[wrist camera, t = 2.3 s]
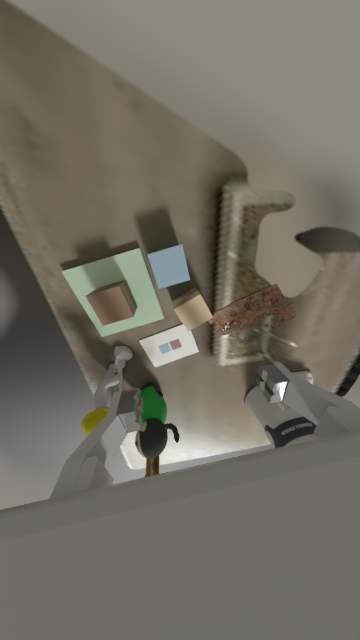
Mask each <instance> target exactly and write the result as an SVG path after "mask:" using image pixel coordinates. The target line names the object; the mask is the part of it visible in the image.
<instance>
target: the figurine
mask: <svg viewBox="0 0 360 640" xmlns="http://www.w3.org/2000/svg"><path fill="white" fill-rule="evenodd" d="M114 355H115V358H116V359H115V363H113V364H110V366H109V370H108V372H107V373H106V375H105V376H104V377H103V379H102V381H101V382H100V384H99V386H98V388H97V390H96V392H95V394H94V403H95V407H96V410H94V411H93V412H91V413H89V414H88V415H87V416H86V417H85V418H84V419H83V421H82V429H83V431H84V432H85V433H86V434H87V435H89V434H90V433H91V432H92V431H93V429H94V428H95V427H96V426H97V425H98V424H99V423H100V421H101V420H102V419H103V418H105V417H106V416H107V413H108V409H109V406H110V403H111V400H112V395H113V393H114V390H115V387H116V385H117V384H118V391H123V389H122V369H123V368H124V367H125V361H128V360H130V359H131V358H132V356H133V354H132V351H131V349H129V348H128V347H126V346H116V347H115V349H114ZM115 369H117V370H118V374H114V373H115Z"/></svg>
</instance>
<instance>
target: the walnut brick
mask: <svg viewBox="0 0 360 640" xmlns="http://www.w3.org/2000/svg"><path fill="white" fill-rule="evenodd" d="M86 298H87V300H88V301H89V303H90V305H91V307H92V308H93V310H94V312H95V313H96V315H97V317H98V318H99V320H100V322H101V324H102V325H103V326H104V325H108V324H111V323H114V322H118V321H121V320H125V319H128V318H131V317H134V315H135V312H136V309H137V304H136V302H135V299H134V297H133V295H132V292H131V290H130V288H129V285H128V283H127V281H126V280H123V281H119V282H116V283H113V284H109V285H106V286H103V287H99V288H97V289H95V290H94V291H92V292H91V293H89V294H88V295H86Z"/></svg>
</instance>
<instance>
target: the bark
mask: <svg viewBox="0 0 360 640" xmlns="http://www.w3.org/2000/svg"><path fill="white" fill-rule="evenodd" d="M282 295H283V294H282V293H281V291H280V289H279V288H278V286H277V285H276V284H275V285H272V286H271V287H268V288H265V289H263V290H262V291H260V292H257V293H255V294H252V295H250V296H248V297H246V298H243V299H241V300H239V301H236V302H235V303H232V304H231V305H230V306H229V307H226V308H224V309H223V310H220V311H217V312H216V313H215V314H214V316H212V317H213V318H212V319H210V320H209V321H208V322H209V323H210V324H212V323H213V322H215V324H216V325H218V324H219V323H222V324H220V326H221V327H219V329H220V330H215V331H213V332H214V334H216V332H218V331H221V332H220V333H219V334H218V335H220V334H221V335H227V334H228V333H230V332H232V331H235V330H238V329H240V330H241V329H242V328H243V327H245V326H247V325H249V324H250V325H252V324H253V322H255V321H258V320H260V318H259V316H258V315H260V314H263V313H264V314H263V315H262V317H263V316H264V315H265V312H267V311H268V312H269V313H271V314H273V315H274V314H276V313H278V314H281V316H278V318H277V319H278V320H277V323H275V324H271V325H268V324H266V325H264V326H265V327H268V326H271V327H272V328H273V327H276V326H278V325H279V324H281V323H283V322H284V321H287V320H290V319H292V318H293V317H295V313H294V312H295V311H294V306H293V305H294V303H291V304H290V305H289V306H286V307H284V308H281V309H280V308H279V307H278V308H277V305H278V304H279V303H280V301H281V300H282ZM261 300H262V301H261ZM257 301H258V302H260V303H259V304H260V309H261V307H266V305H267V306H268V308H267V309H265V308H263V309H262V311H259V312H258V311H257V309H256V308H257V306H256V305H257V303H256V302H257ZM275 301H276V302H275ZM276 309H277V311H278V312H276ZM263 310H264V311H263ZM279 310H280V311H279ZM256 311H257V312H256ZM272 311H273V312H272ZM285 313H286V314H285ZM257 314H258V315H257ZM271 314H268V313H267V314H266V316H267V315H268V316H270V315H271ZM284 314H285V316H284ZM237 316H238V317H237ZM236 317H237V318H236ZM262 317H261V318H262ZM219 318H220V320H219ZM215 320H217V321H215ZM218 320H219V323H218ZM271 320H273V319H271ZM280 320H283V321H281V322H279V321H280ZM228 322H229V323H230V324H229V326H230V328H226V330H224V331H223V330H221V329H225V328H224V327H225V325H227V324H226V323H228ZM260 325H261V324H260ZM244 338H246V337H244ZM246 340H248V339H247V338H246V339H245V340H244V341H246ZM244 341H241V342H240V343H242V342H244Z"/></svg>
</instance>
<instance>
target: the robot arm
mask: <svg viewBox="0 0 360 640" xmlns="http://www.w3.org/2000/svg"><path fill="white" fill-rule="evenodd" d="M256 371H257V373H256V374H255V382H256V384H257V386H256V387H254V388H253V389H252V390H251V391H250V392H249V393H248V394H247V396H246V398H245V405H246V406H247V407H248V408H249V409H250V411H251V412H252V413H253V414H254V415H255V417H256V418H257V419H258V421H259V422H260V423H261V425H262V426H263V428H264V429H265V433H266V435H267V437H268V439H269V441H270V442H271V444H272V446H273V447H274V449H270V450H265V451H261V452H256V453H252V454H247V455H243V456H238V457H234V458H230V459H225V460H221V461H216V462H212V463H207V464H203V465H198V466H194V467H189V468H185V469H180V470H176V471H172V472H167V473H163V474H158V475H154V476H149V477H145V478H140V479H136V480H131V481H127V482H122V483H118V484H114V485H112V484H113V477H112V475H111V474H110V473H109V472H108V471H107V468H108V466H109V464H110V462H111V461H112V459H113V457H114V456H115V454H116V452H117V450H118V449H119V447H120V445H121V444H122V442H123V440H124V439H125V437H126V435H127V433H129V432H133V431H137V430H141V425H142V417H141V413H142V412H143V399H142V396H141V395H140V390H139V388H135V389H129V390H123V391H117V392H114V394H113V397H112V400H111V403H110V406H109V409H108V413H107V416H106V417H105V418H103V419H102V420H101V421H100V423H99V424H98V425H97V426H96V427H95V428H94V429H93V431H92V432H91V433H90V434H89V435H88V436H87V438H86V439H85V440H84V441H83V442H82V443H81V445H80V446H79V447H78V448H77V449H76V450H75V451H74V452H73V454H72V455H71V456H70V457H69V458H68V459H67V461H66V462H65V464H64V467H63V469H62V471H61V474H60V476H59V478H58V481H57V483H56V485H55V488H54V490H53V492H52V494H51V497H50V499H47V500H42V501H38V502H33V503H29V504H25V505H20V506H16V507H11V508H7V509H3V510H0V640H360V408H358V407H357V406H356V405H355V404H353V403H352V402H351V401H349V400H347V399H344V398H342V397H340V396H337V395H335V394H333V393H331V392H328V391H326V390H324V389H322V388H319V387H317V386H315V385H313V376H312V374H311V373H310V372H309V371H300V372H293V373H291V372H290V371H289V370H288V369H287V368H286V367H285V366H284V365H283V364H282V363H280V362H273V363H268V364H263V365H258V366H257V367H256Z"/></svg>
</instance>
